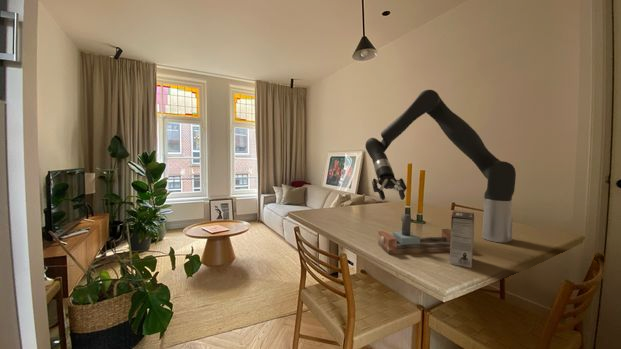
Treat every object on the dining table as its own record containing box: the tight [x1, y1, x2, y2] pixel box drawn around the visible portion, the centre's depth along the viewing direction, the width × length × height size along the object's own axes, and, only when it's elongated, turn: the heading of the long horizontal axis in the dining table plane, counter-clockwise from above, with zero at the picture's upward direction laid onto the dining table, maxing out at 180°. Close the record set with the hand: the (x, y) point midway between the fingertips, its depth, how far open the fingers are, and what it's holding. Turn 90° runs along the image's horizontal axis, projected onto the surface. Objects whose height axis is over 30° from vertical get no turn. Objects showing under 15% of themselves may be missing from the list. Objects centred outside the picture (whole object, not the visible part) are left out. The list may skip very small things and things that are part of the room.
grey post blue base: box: [392, 213, 421, 245], centre depth 94 cm, size 7×8×10 cm
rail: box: [377, 228, 451, 255], centre depth 95 cm, size 31×10×6 cm, turn 96°
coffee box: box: [449, 211, 475, 269], centre depth 83 cm, size 9×6×16 cm
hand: (393, 198), depth 105 cm, fingers open, 8 cm apart
